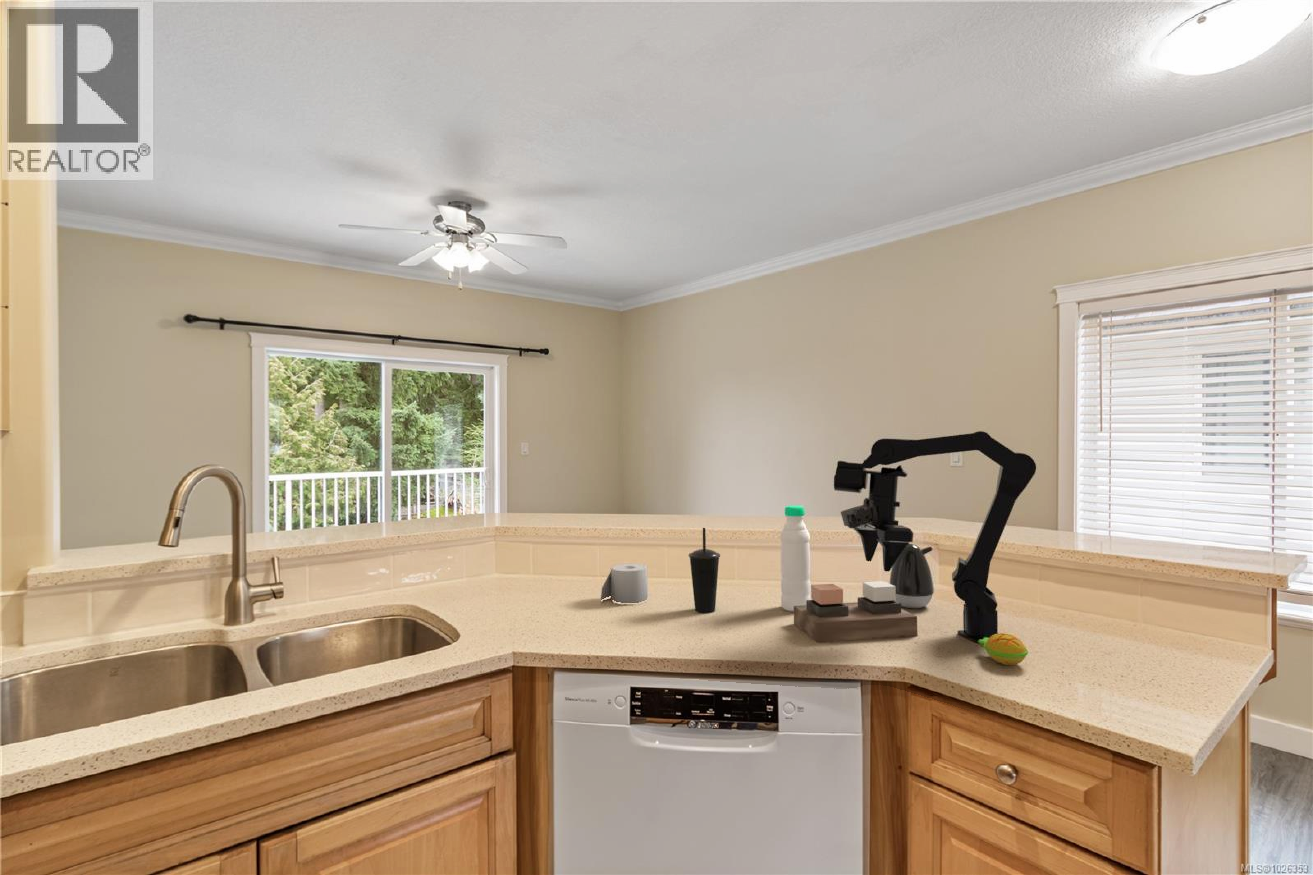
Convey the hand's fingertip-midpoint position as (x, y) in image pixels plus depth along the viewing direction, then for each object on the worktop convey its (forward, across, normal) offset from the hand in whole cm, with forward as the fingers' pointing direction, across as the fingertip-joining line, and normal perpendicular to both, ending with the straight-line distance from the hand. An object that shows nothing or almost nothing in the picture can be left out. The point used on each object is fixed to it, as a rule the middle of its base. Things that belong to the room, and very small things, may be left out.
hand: (877, 566), depth 137 cm
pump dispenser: (+13, -14, +16) cm, 25 cm away
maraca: (+12, +24, +14) cm, 30 cm away
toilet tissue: (+19, -28, -54) cm, 64 cm away
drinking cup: (+17, -17, -35) cm, 42 cm away
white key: (+7, +1, 0) cm, 7 cm away
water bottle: (+15, -15, -12) cm, 25 cm away
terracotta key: (+8, +2, -12) cm, 14 cm away
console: (+14, +2, -5) cm, 15 cm away
